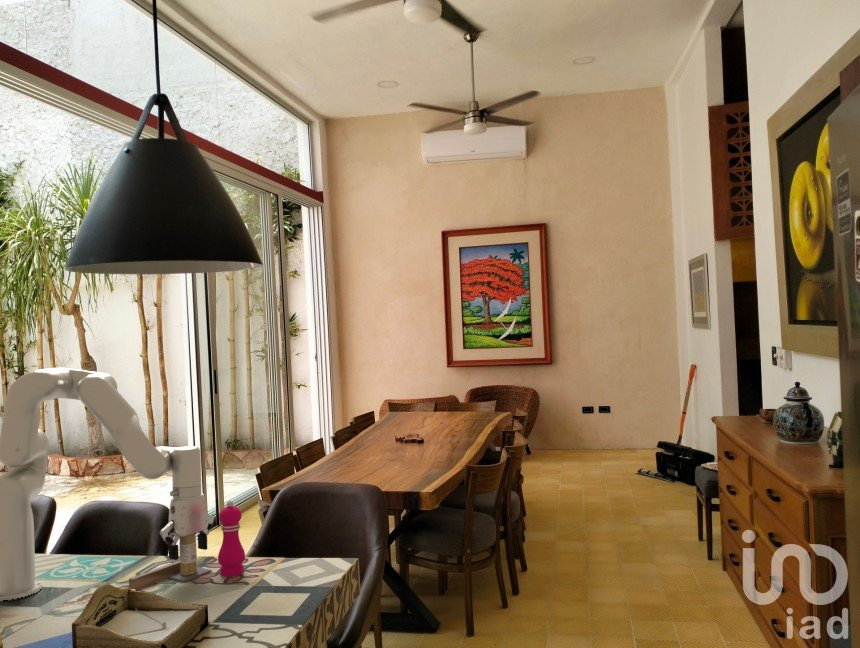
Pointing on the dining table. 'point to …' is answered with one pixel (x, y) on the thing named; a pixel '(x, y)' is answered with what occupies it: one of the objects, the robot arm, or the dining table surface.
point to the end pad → (189, 577)
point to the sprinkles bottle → (188, 555)
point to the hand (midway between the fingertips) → (188, 553)
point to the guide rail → (154, 575)
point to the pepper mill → (231, 542)
